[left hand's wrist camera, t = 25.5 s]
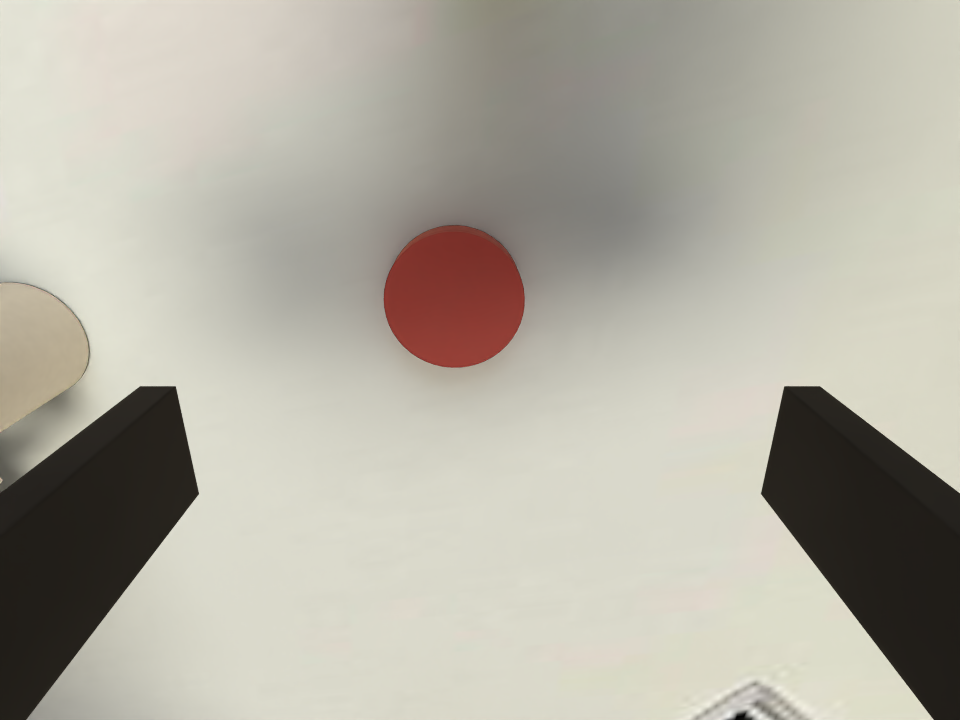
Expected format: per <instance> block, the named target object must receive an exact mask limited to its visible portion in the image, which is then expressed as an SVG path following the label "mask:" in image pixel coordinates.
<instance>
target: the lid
mask: <svg viewBox="0 0 960 720" xmlns="http://www.w3.org/2000/svg"><path fill="white" fill-rule="evenodd" d="M524 300H525V297H524V288H523V284H522V280H521V277H520V275H519V272H518V270H517V267H516V265H515V262H514V261H513V259H512V257H511V255H510V254H509V253H508V251H507V250H506V249H505V248H504V247H503V246H502V245H501V244H500V243H499V242H498V241H497V240H496V239H494V238H493V237H492V236H490V235H488V234H486V233H485V232H482V231H480V230H478V229H475V228H471V227H467V226H459V225H449V226H442V227H437V228H434V229H431V230H428V231H426V232H424V233H422V234H420V235H419V236H417V237H416V238H414V239H413V240H412V241H411V242H409V243H408V244H407V245H406V246H405V248H404V249H403V250H402V251H401V253H400V254H399V255H398V257H397V259H396V261H395V263H394V264H393V266H392V268H391V270H390V272H389V275H388V278H387V280H386V285H385V289H384V308H385V313H386V317H387V320H388V323H389V326H390V328H391V330H392V332H393V333H394V335H395V336H396V338H397V339H398V341H399V342H400V343H401V344H402V345H403V346H404V347H405V348H406V349H407V350H408V351H409V352H411V353H412V354H413V355H415V356H416V357H418V358H420V359H422V360H424V361H426V362H428V363H431V364H434V365H438V366H442V367H451V368H452V367H467V366H472V365H475V364H479V363H481V362H484V361H486V360H488V359H490V358H491V357H493V356H495V355H496V354H497V353H499V352H500V351H501V350H502V349H503V348H504V347H505V346H507V344H508V343H509V342H510V341H511V339H512V338H513V337H514V335H515V333H516V332H517V330H518V327H519V325H520V323H521V320H522V316H523V311H524Z"/></svg>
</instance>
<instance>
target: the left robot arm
mask: <svg viewBox="0 0 960 720" xmlns="http://www.w3.org/2000/svg"><path fill="white" fill-rule="evenodd" d="M198 494H199V492H198V487H197V483H196V478H195V473H194V469H193V464H192V460H191V455H190V450H189V446H188V441H187V436H186V432H185V427H184V423H183V418H182V413H181V409H180V404H179V400H178V395H177V390H176V386H140V387H139V388H137V389H136V390H135V391H134V392H132V393H131V394H130V395H128V396H127V397H126V398H124V399H123V400H122V401H120V402H119V403H118V404H117V405H115V406H114V407H113V408H111V409H110V410H109V411H107V412H106V413H105V414H103V415H102V416H101V417H100V418H98V419H97V420H96V421H94V422H93V423H92V424H90V425H89V426H88V427H86V428H85V429H84V430H83V431H81V432H80V433H79V434H77V435H76V436H75V437H73V438H72V439H71V440H69V441H68V442H67V443H66V444H64V445H63V446H62V447H60V448H59V449H58V450H56V451H55V452H54V453H52V454H51V455H50V456H49V457H47V458H46V459H45V460H43V461H42V462H41V463H39V464H38V465H37V466H35V467H34V468H33V469H32V470H30V471H29V472H28V473H26V474H25V475H24V476H22V477H21V478H20V479H18V480H17V481H16V482H15V483H13V484H12V485H11V486H9V487H8V488H7V489H5V490H4V491H3V492H1V493H0V720H26V719H27V718H28V717H29V715H30V714H31V713H32V711H33V710H34V709H35V708H36V706H37V705H38V704H39V702H40V701H41V700H42V698H43V697H44V696H45V694H46V693H47V692H48V691H49V689H50V688H51V687H52V685H53V684H54V683H55V681H56V680H57V679H58V677H59V676H60V675H61V674H62V672H63V671H64V670H65V668H66V667H67V666H68V664H69V663H70V662H71V660H72V659H73V658H74V657H75V655H76V654H77V653H78V651H79V650H80V649H81V647H82V646H83V645H84V643H85V642H86V641H87V640H88V638H89V637H90V636H91V634H92V633H93V632H94V630H95V629H96V628H97V626H98V625H99V624H100V623H101V621H102V620H103V619H104V617H105V616H106V615H107V613H108V612H109V611H110V609H111V608H112V607H113V606H114V604H115V603H116V602H117V600H118V599H119V598H120V596H121V595H122V594H123V592H124V591H125V590H126V589H127V587H128V586H129V585H130V583H131V582H132V581H133V579H134V578H135V577H136V576H137V574H138V573H139V572H140V570H141V569H142V568H143V566H144V565H145V564H146V562H147V561H148V560H149V559H150V557H151V556H152V555H153V553H154V552H155V551H156V549H157V548H158V547H159V545H160V544H161V543H162V542H163V540H164V539H165V538H166V536H167V535H168V534H169V532H170V531H171V530H172V528H173V527H174V526H175V525H176V523H177V522H178V521H179V519H180V518H181V517H182V515H183V514H184V513H185V511H186V510H187V509H188V508H189V506H190V505H191V504H192V502H193V501H194V500H195V498H196V497H197V496H198ZM761 494H762V496H763V497H764V498H765V500H766V501H767V502H768V504H769V505H770V506H771V508H772V509H773V510H774V511H775V513H776V514H777V515H778V517H779V518H780V519H781V521H782V522H783V523H784V525H785V526H786V527H787V528H788V530H789V531H790V532H791V534H792V535H793V536H794V538H795V539H796V540H797V542H798V543H799V544H800V545H801V547H802V548H803V549H804V551H805V552H806V553H807V555H808V556H809V557H810V559H811V560H812V561H813V562H814V564H815V565H816V566H817V568H818V569H819V570H820V572H821V573H822V574H823V576H824V577H825V578H826V579H827V581H828V582H829V583H830V585H831V586H832V587H833V589H834V590H835V591H836V592H837V594H838V595H839V596H840V598H841V599H842V600H843V602H844V603H845V604H846V606H847V607H848V608H849V609H850V611H851V612H852V613H853V615H854V616H855V617H856V619H857V620H858V621H859V623H860V624H861V625H862V626H863V628H864V629H865V630H866V632H867V633H868V634H869V636H870V637H871V638H872V640H873V641H874V642H875V643H876V645H877V646H878V647H879V649H880V650H881V651H882V653H883V654H884V655H885V657H886V658H887V659H888V660H889V662H890V663H891V664H892V666H893V667H894V668H895V670H896V671H897V672H898V674H899V675H900V676H901V677H902V679H903V680H904V681H905V683H906V684H907V685H908V687H909V688H910V689H911V691H912V692H913V693H914V694H915V696H916V697H917V698H918V700H919V701H920V702H921V704H922V705H923V706H924V708H925V709H926V710H927V711H928V713H929V714H930V715H931V717H932V718H933V719H934V720H960V493H959V492H957V491H956V490H955V489H953V488H952V487H951V486H949V485H948V484H947V483H945V482H944V481H943V480H942V479H940V478H939V477H938V476H936V475H935V474H934V473H932V472H931V471H930V470H928V469H927V468H926V467H925V466H923V465H922V464H921V463H919V462H918V461H917V460H915V459H914V458H913V457H911V456H910V455H909V454H908V453H906V452H905V451H904V450H902V449H901V448H900V447H898V446H897V445H896V444H894V443H893V442H892V441H891V440H889V439H888V438H887V437H885V436H884V435H883V434H881V433H880V432H879V431H877V430H876V429H875V428H874V427H872V426H871V425H870V424H868V423H867V422H866V421H864V420H863V419H862V418H860V417H859V416H858V415H857V414H855V413H854V412H853V411H851V410H850V409H849V408H847V407H846V406H845V405H843V404H842V403H841V402H840V401H838V400H837V399H836V398H834V397H833V396H832V395H830V394H829V393H828V392H826V391H825V390H824V389H823V388H821V387H820V386H784V390H783V395H782V400H781V404H780V409H779V413H778V418H777V423H776V427H775V432H774V436H773V441H772V446H771V450H770V455H769V460H768V464H767V469H766V473H765V478H764V483H763V487H762V492H761Z"/></svg>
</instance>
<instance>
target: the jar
mask: <svg viewBox="0 0 960 720" xmlns="http://www.w3.org/2000/svg"><path fill="white" fill-rule="evenodd" d="M88 358H89V348H88V342H87V338H86V335H85V332H84V330H83V328H82V326H81V324H80V322H79V321H78V319H77V318H76V317H75V315H74V314H73V313H72V312H71V311H70V309H69V308H68V307H66V306H65V305H64V304H63V303H62V302H61V301H59V300H58V299H57V298H56V297H54V296H52V295H51V294H49V293H47V292H45V291H43V290H41V289H39V288H36V287H33V286H30V285H25V284H20V283H0V432H2V431H3V430H5V429H7V428H8V427H10V426H11V425H13V424H14V423H16V422H17V421H19V420H20V419H22V418H24V417H25V416H27V415H28V414H30V413H31V412H33V411H34V410H36V409H37V408H39V407H41V406H42V405H44V404H45V403H47V402H48V401H50V400H51V399H53V398H54V397H56V396H58V395H59V394H61V393H62V392H64V391H65V390H67V389H68V388H70V387H71V386H73V385H74V384H75V383H76V382H77V381H78V380H79V379H80V378H81V377H82V375H83V373H84V372H85V369H86V366H87V363H88Z"/></svg>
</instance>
